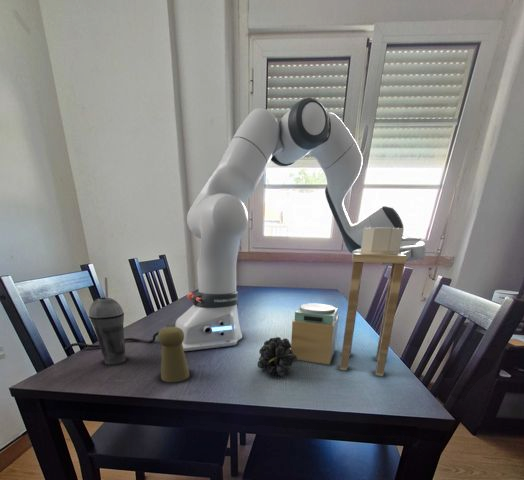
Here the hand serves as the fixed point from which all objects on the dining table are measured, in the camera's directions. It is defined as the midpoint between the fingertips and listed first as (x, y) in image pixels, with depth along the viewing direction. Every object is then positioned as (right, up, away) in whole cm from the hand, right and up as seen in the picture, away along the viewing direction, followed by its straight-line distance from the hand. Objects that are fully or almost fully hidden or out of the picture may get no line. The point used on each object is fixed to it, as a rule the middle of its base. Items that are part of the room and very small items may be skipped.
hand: (384, 257), depth 80 cm
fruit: (-31, -31, -12) cm, 45 cm away
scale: (-21, -28, -4) cm, 35 cm away
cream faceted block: (-7, -3, -13) cm, 15 cm away
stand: (-10, -30, -9) cm, 33 cm away
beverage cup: (-71, -29, -10) cm, 77 cm away
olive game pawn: (-54, -32, -17) cm, 65 cm away
